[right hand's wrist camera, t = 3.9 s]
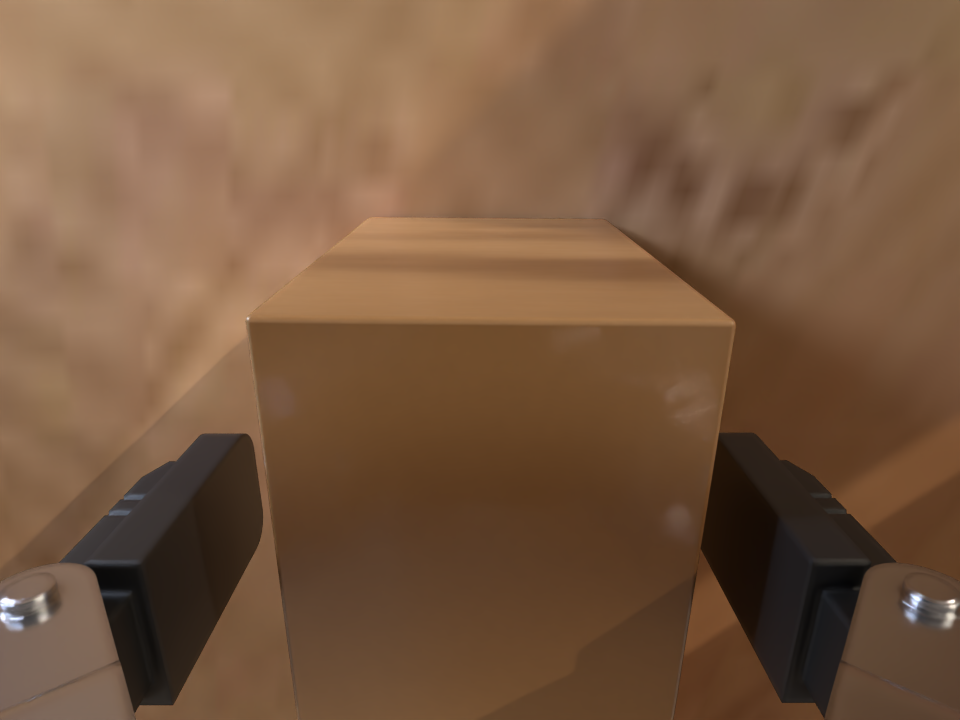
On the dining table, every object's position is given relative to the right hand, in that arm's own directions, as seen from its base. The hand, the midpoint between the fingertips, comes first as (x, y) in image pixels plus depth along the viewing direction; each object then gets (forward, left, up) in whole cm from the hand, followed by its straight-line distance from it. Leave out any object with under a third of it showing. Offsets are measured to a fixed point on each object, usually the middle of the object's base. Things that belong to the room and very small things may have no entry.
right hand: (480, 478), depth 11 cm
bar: (+8, +2, -6) cm, 10 cm away
